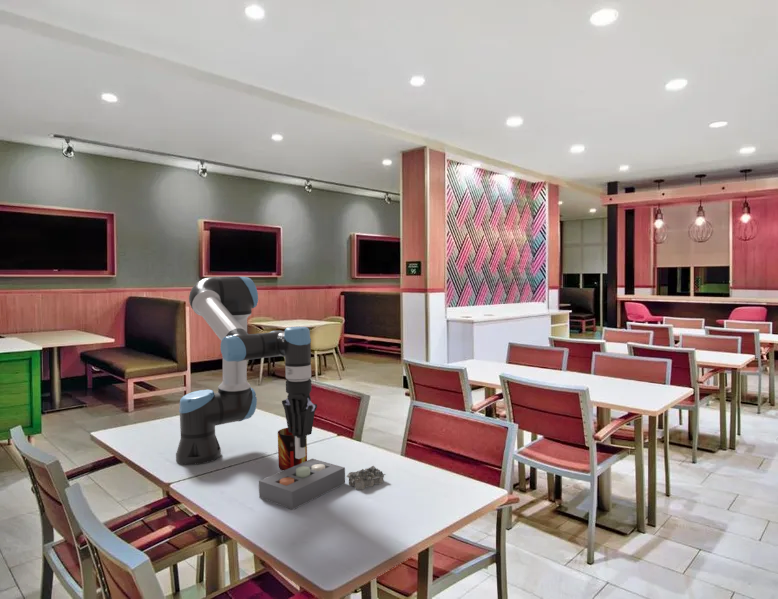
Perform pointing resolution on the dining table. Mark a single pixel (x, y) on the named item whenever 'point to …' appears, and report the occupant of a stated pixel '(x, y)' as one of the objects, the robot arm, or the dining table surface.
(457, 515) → the dining table surface
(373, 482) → the egg carton
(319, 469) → the cream button
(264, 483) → the console
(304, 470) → the sage button
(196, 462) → the robot arm
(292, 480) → the rust button
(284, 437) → the mug
